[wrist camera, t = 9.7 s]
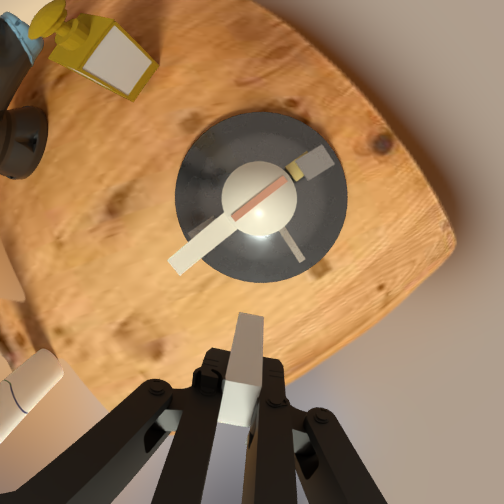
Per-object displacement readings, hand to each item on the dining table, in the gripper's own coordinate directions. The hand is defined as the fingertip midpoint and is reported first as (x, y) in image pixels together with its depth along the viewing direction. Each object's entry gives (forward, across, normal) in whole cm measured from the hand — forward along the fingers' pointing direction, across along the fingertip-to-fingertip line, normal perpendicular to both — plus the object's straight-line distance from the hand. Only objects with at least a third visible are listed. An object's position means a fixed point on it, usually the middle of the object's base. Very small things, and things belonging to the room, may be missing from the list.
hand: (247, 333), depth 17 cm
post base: (+23, -1, +8) cm, 25 cm away
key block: (+22, -3, +6) cm, 23 cm away
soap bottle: (+24, -24, +27) cm, 43 cm away
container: (+24, -43, -37) cm, 61 cm away
